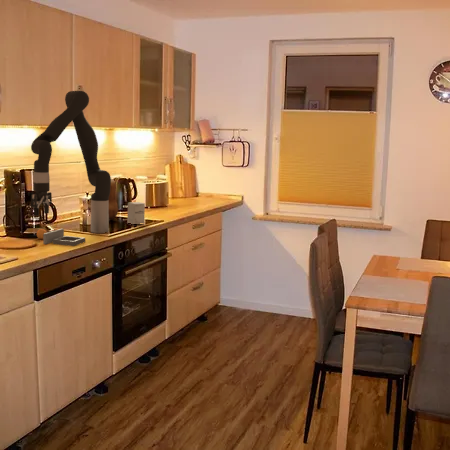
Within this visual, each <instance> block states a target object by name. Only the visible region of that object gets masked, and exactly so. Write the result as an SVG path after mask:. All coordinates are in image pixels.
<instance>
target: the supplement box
mask: <svg viewBox="0 0 450 450" xmlns="http://www.w3.org/2000/svg"><path fill="white" fill-rule="evenodd" d="M145 207H146V203H144V202H140V201H136V202H135V201H133V202H131V201H130V202H127V224H128V223H131V224H140V223H144V224H145V212H146V211H145V209H146V208H145ZM131 224H130V225H131Z"/></svg>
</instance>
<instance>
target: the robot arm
mask: <svg viewBox="0 0 450 450" xmlns="http://www.w3.org/2000/svg"><path fill="white" fill-rule="evenodd" d="M64 102H65V105H66V108H65V110H64V111H62V113H60V114H59V115H57V116H56V117H55V118H54V119H53V120H52V121H51V122H50V123H49V125H48V126H47V127H46V128H45V130H44V131H43V132H41V133H40V134H39V135H38V136H37V137H36V138H35V139H34V140H33V141H32V143H31V145H30V148H31V149H30V151H31V152H32V153H33V154H36V155H38V156H37V159H36V160H35V161H34V162H33V178H32V179H33V182H32V183H33V185H32V186H33V187H32V188H33V189H32V190H33V192H35V193H34V194H31V195H30V207H31V208H33V216H35V217H36V216H40V208H39V207H40V205H41V204H42V203H43V205H44V206H43V213H44V214H49V213H50V205H52V204H53V197H52V192H50V181H51V180H50V178H51V177H50V162H51V158H52V153H53V147H52V144H51V143H52V142H56V141H57V140H59V137H61V135H62V133H63V132H64V131H65V130H66V128H67V127H68V126H69V125H70V123H73V127H74V130H75V133H76V136H77V141H78V143H79V147H80V150H81V153H82V157H83V160H84V164H85V171H86V174H87V179H88V182H89V184H90V185H91V186H93V187H95V188H94V192H93V193H92V194H91V195H90V232H91V233H94V234H105V232H107V233H109V222H110V220H109V214H108V210H109V195H110V189H111V179H112V177H111V175H110V172H109V171H107V170H104V169H101V168H100V164H99V161H98V151H99V141H98V139H97V135H96V132H95V130H94V129H93V127H92V125H91V124H90V123H89V121H88V119H86V116H85V115H84V114H85V113H84V110H85V109H86V108H87V107H88V106H89V103H90V96H89V94H88V93H87V92H85V91H84V90H70V91H68V92H67V93H66V94H65V97H64Z"/></svg>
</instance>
